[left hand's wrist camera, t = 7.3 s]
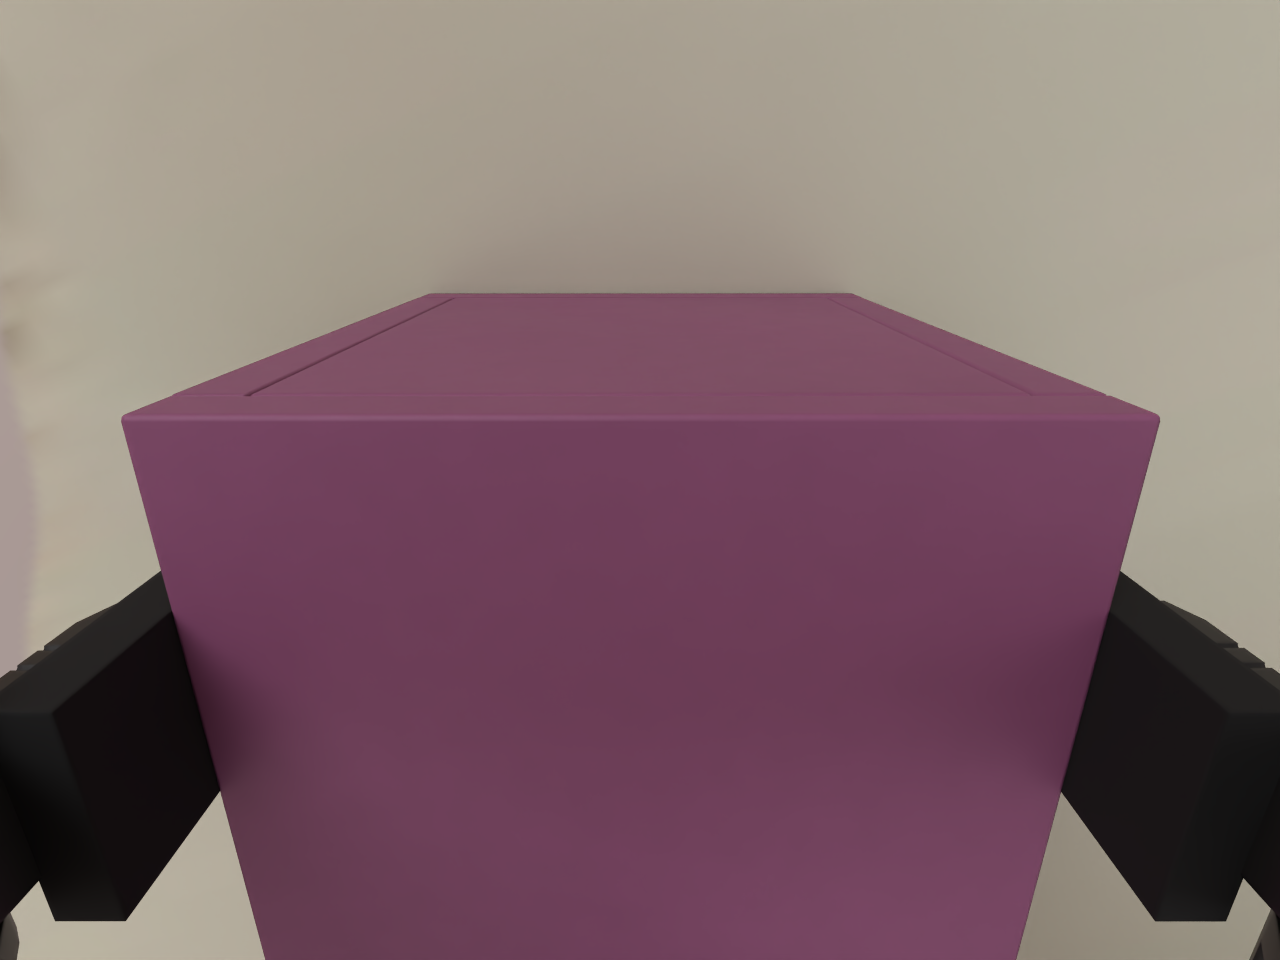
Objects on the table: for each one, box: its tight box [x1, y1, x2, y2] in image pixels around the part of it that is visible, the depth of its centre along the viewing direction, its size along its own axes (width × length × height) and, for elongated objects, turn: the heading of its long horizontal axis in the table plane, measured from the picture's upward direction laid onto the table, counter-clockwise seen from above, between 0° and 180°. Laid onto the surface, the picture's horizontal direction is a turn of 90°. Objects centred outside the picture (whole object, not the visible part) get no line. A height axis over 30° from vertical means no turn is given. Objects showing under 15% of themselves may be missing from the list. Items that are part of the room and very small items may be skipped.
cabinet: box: [121, 294, 1160, 960], centre depth 16 cm, size 16×11×12 cm
